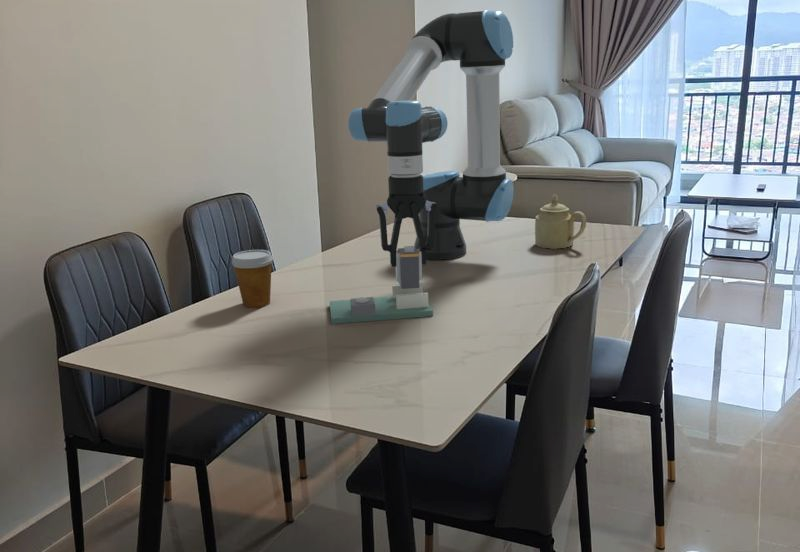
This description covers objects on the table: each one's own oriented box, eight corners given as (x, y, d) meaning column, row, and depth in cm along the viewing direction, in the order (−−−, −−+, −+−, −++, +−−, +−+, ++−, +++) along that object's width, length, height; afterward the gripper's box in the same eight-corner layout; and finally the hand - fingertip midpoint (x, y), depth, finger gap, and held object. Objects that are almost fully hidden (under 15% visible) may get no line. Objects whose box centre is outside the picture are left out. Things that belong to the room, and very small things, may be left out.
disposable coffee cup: (284, 298, 171) (280, 250, 167) (264, 311, 162) (259, 260, 159) (249, 296, 174) (244, 248, 170) (228, 308, 165) (222, 258, 162)
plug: (398, 282, 162) (397, 243, 159) (416, 281, 162) (415, 242, 160) (401, 289, 157) (400, 248, 154) (419, 287, 157) (418, 247, 155)
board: (329, 306, 164) (328, 288, 163) (424, 298, 167) (423, 281, 165) (331, 323, 153) (330, 305, 152) (433, 315, 155) (432, 297, 154)
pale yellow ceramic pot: (588, 241, 212) (590, 191, 208) (584, 251, 202) (586, 198, 198) (538, 239, 217) (539, 190, 213) (531, 248, 207) (532, 197, 203)
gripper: (367, 179, 148) (372, 286, 155) (448, 175, 150) (449, 281, 157) (364, 174, 156) (369, 277, 162) (441, 170, 157) (443, 272, 164)
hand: (408, 279), depth 159 cm, fingers closed on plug, 4 cm apart
